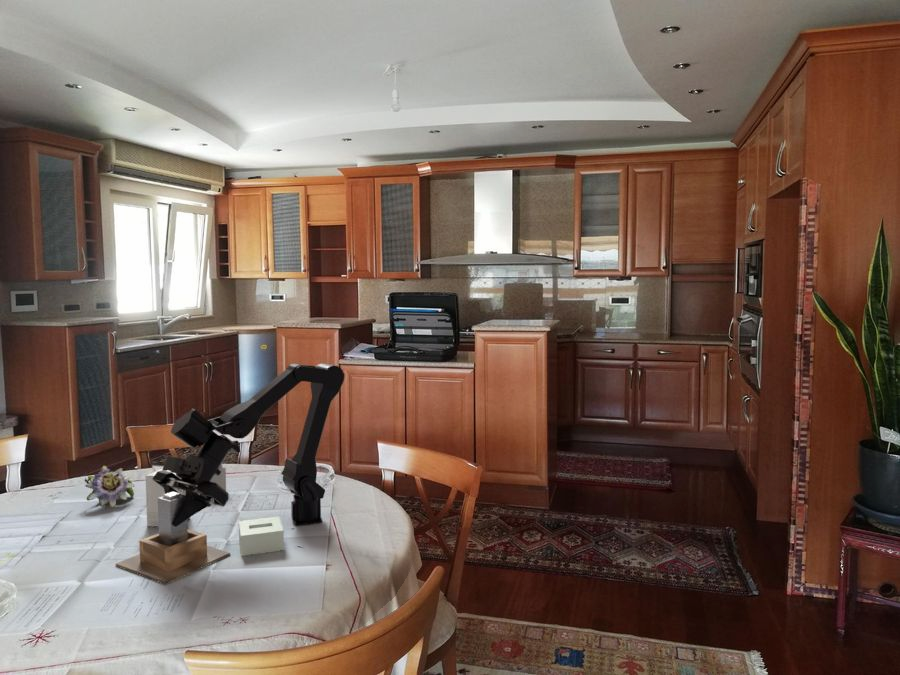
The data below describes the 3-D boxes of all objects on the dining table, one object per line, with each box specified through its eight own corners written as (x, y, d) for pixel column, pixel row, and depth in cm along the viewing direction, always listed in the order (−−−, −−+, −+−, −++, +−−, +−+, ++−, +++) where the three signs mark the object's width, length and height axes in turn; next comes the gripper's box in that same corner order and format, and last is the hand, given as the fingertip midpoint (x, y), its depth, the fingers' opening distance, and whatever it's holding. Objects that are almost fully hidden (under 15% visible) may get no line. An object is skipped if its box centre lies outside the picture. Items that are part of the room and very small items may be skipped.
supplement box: (173, 528, 158) (171, 477, 156) (146, 526, 159) (144, 475, 158) (191, 517, 165) (190, 468, 164) (165, 515, 166) (163, 466, 165)
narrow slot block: (279, 535, 154) (279, 516, 154) (283, 550, 146) (283, 530, 145) (239, 540, 151) (238, 521, 151) (241, 555, 143) (240, 535, 142)
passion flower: (113, 526, 173) (87, 499, 165) (93, 510, 179) (68, 483, 172) (148, 495, 179) (125, 467, 171) (128, 480, 185) (105, 452, 178)
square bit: (176, 546, 143) (173, 489, 142) (188, 550, 141) (186, 492, 140) (159, 553, 139) (157, 495, 138) (172, 557, 137) (169, 498, 136)
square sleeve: (181, 539, 151) (181, 518, 151) (230, 555, 143) (229, 532, 143) (115, 565, 137) (114, 542, 137) (165, 584, 129) (164, 559, 129)
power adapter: (227, 492, 184) (226, 450, 183) (208, 496, 180) (207, 453, 179) (222, 489, 187) (221, 448, 185) (203, 494, 183) (202, 451, 182)
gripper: (158, 434, 146) (113, 497, 138) (215, 445, 137) (171, 514, 128) (189, 460, 154) (149, 521, 145) (246, 473, 144) (206, 539, 136)
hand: (167, 523), depth 138 cm, fingers closed on square bit, 4 cm apart
